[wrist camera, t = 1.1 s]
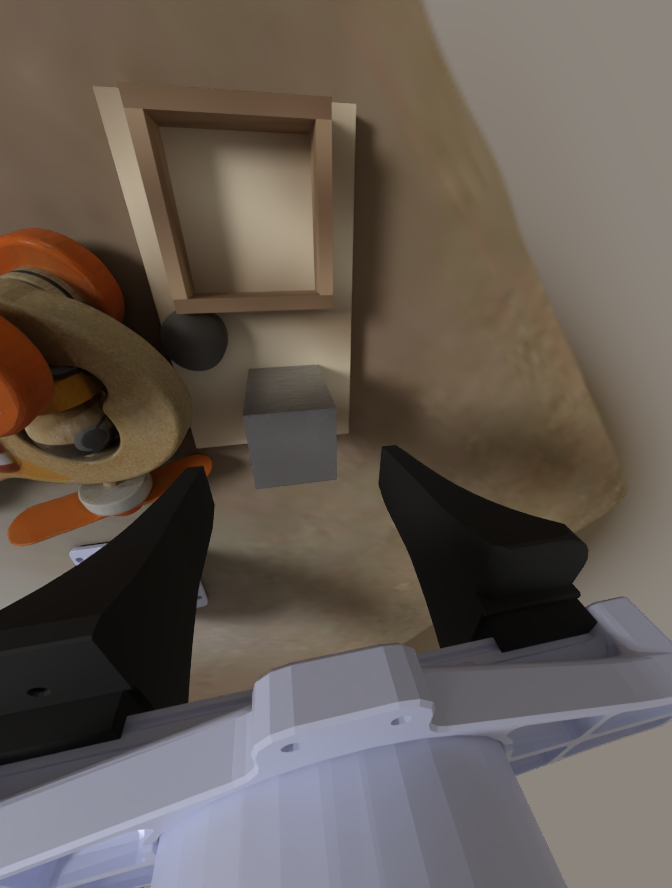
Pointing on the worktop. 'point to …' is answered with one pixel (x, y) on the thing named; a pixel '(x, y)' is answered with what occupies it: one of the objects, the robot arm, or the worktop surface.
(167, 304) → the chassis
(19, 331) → the toy helicopter
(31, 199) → the worktop surface
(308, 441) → the grey rectangular block
